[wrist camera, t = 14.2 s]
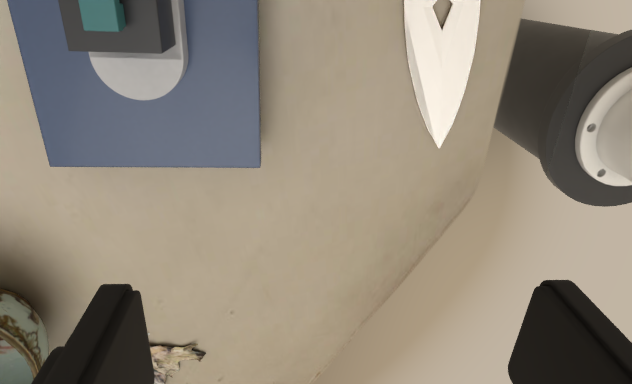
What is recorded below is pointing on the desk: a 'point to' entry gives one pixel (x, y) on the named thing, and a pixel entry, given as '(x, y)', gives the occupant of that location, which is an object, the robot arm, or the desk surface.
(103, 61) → the iron
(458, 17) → the knife
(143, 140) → the blue rectangular board
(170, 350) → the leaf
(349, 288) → the desk surface
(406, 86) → the desk surface
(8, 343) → the bowl
